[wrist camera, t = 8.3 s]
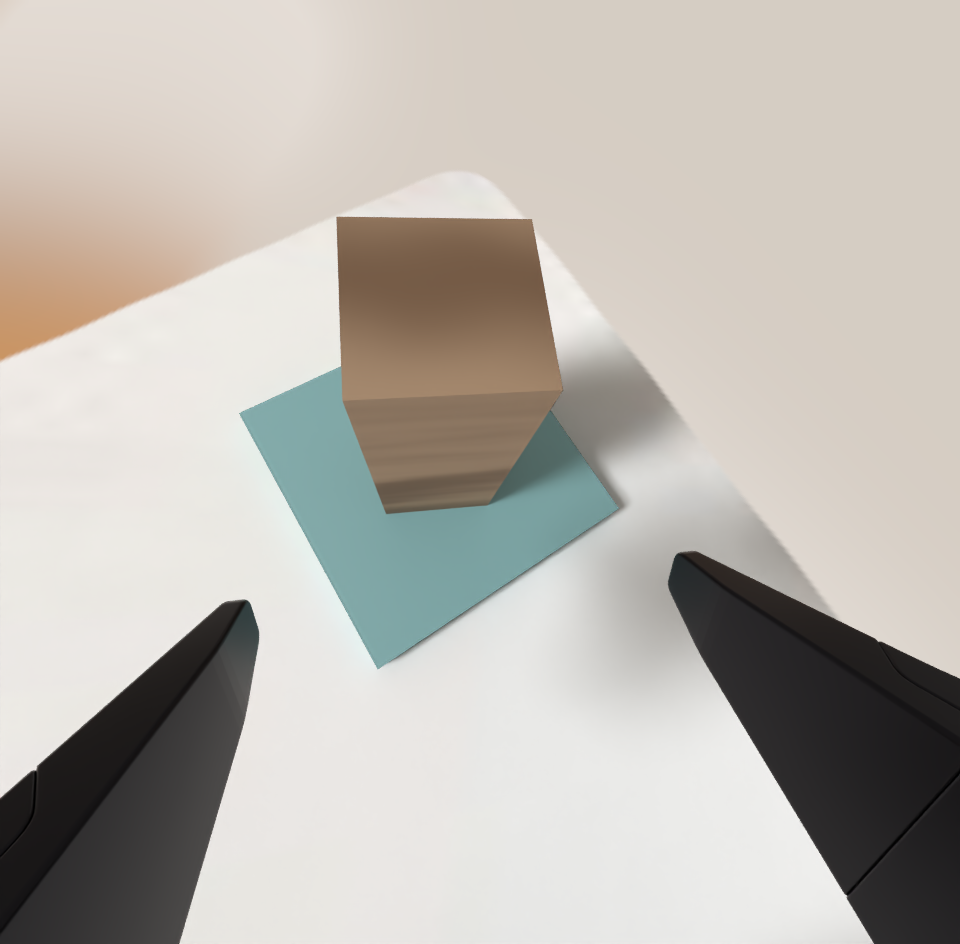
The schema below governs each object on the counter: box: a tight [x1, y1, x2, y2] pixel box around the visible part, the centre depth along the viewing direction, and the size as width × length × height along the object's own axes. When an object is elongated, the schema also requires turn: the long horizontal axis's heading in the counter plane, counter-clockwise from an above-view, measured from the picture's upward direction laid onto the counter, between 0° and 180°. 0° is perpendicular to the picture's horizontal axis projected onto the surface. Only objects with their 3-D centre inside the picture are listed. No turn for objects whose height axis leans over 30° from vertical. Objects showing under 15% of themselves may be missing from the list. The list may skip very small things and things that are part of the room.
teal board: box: [239, 367, 619, 669], centre depth 23 cm, size 14×14×1 cm
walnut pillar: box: [337, 217, 563, 514], centre depth 17 cm, size 5×5×12 cm
